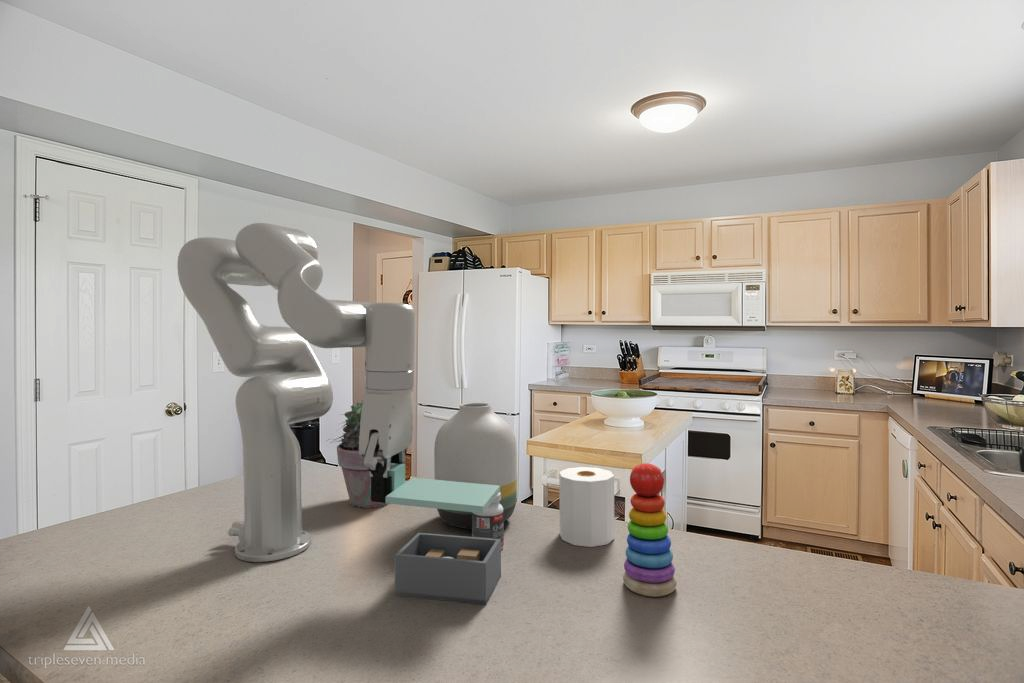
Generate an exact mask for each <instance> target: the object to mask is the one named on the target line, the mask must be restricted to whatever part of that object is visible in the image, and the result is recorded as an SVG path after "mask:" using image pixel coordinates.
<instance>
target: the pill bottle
mask: <svg viewBox="0 0 1024 683" xmlns="http://www.w3.org/2000/svg"><path fill="white" fill-rule="evenodd" d="M500 500H501V493H500V492H499V494H498V495H497V496H496V498H495V499H494V500H493V501H492V503H491V504H490V505H489V506H488V508H487V509H486V510H485V512H484V513H475V512H472V529H471V537H479V538H491V539H501V550H502V549H503V548H504V542H505V541H504V538H505V536H504V532H505V531H504V527H505V526H504V522H503V507H502V505H501V504H499V502H500Z"/></svg>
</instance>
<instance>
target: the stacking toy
mask: <svg viewBox="0 0 1024 683" xmlns="http://www.w3.org/2000/svg"><path fill="white" fill-rule="evenodd" d="M629 484H630V487H631V488H632V490H633V491H634V492H635V493H634V494H633V495H632V496H631V498H630V505H631V507H632V508H631V509H630V510H629V512H628V517H629V519H630V521H629V522H628V523H627V530H628V532H629V533H628V535H627V536H626V542H627V546H626V548H625V557H626V558H625V559H624V563H623V568H624V572H623V576H622V580H623V583H624V585H625V586H626V588H627V589H628V590H630V591H632V592H633V593H636V594H638V595H641V596H645V597H654V598H656V597H664V596H666V595H670V594H671V593H673V592H674V591H675V589H676V588H677V579H676V576H675V572H676V570H675V565H674V564H673V558H674V554H673V552H672V549H671V545H672V540H671V538H670V536H669V535H668V533H669V527H668V525H667V523H666V520H667V514H666V511H665V510H664V509H663V508H664V507H665V499H664V497H663V496H662V495H661V494H660V492H661V491H662V490H663V488H664V485H665V478H664V474H663V473H662V471H661V469H660V468H659V467H657V466H656V465H655V464H652V463H647V462H644V463H640V464H637V465H636V466H634V468H633V469H632V471H631V473H630V476H629Z"/></svg>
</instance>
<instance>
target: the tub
mask: <svg viewBox="0 0 1024 683" xmlns="http://www.w3.org/2000/svg"><path fill="white" fill-rule="evenodd" d="M501 578H502V549H501V539H491V538H479V537H472V536H466V535H465V536H464V535H452V534H442V533H441V534H440V533H429V532H428V533H426V532H417V533H416V534H415V535H414V536H413V537H412V538H411V539H410V540H409V541H408V542H407V543H406V544H405V545H404V546H402V548H401V549H399V550H398V551H397V552H396V553H395V554H394V584H395V585H394V587H395V588H394V591H395V592H394V593H395V594H394V595H395V596H400V597H410V598H418V599H419V598H420V599H427V600H437V601H438V600H439V601H447V602H455V603H465V604H474V605H483V606H487V604H488V602H489V601H490V598H491V597H492V595H493V593H494V591H495V589H496V587H497V585H498V583H499V581H500V579H501Z"/></svg>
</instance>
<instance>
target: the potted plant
mask: <svg viewBox="0 0 1024 683" xmlns="http://www.w3.org/2000/svg"><path fill="white" fill-rule="evenodd" d="M362 404H363V400H361V402H360V401H357V402H356V405H355V404H352V405H351V406H350V409H351V411H347V412H345V413H343V414H340V415H341V416H343V415H344V417H345V418H347V419H345V421H342V422H341V423H339V425H341V424H344V425H342V426H341V427H340V428H339V429H342V430H343V431H342V432H344V433H342V435H341V436H339V437H337V438H336V439H332V438H331V440H332V441H330V444H331V443H336V442H337V443H339V444H337V446H336V454H337V464H338V466H339V467H340V468H341V472H342V475H343V478H344V483H345V487H346V490H347V494H348V499H349V504H350V505H351V504H352V506H353V507H355V506H357V507H356V508H360V507H363V508H362V509H367V508H366V507H376V508H380V507H379V506H381V507H383V506H384V505H385V506H388V505H390V504H389V503H381V502H372V501H371V494H370V484H371V477H370V471H369V469H368V467H366V466H365V465H364V459H365V457H363V456H361V455H360V454H359V435H360V421H361V411H362ZM339 429H337V431H338V430H339ZM331 435H333V433H332V434H330V436H331ZM339 439H340V440H339ZM328 440H330V438H328V439H327V440H326V441H328ZM340 442H341V443H340ZM382 454H383V452H378V454H377V455H378V456H382ZM377 461H378V462H379V463H382V462H384V461H382V460H377ZM387 504H388V505H387ZM385 506H384V507H385Z"/></svg>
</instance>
